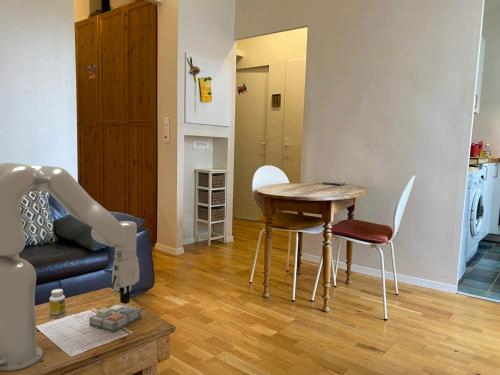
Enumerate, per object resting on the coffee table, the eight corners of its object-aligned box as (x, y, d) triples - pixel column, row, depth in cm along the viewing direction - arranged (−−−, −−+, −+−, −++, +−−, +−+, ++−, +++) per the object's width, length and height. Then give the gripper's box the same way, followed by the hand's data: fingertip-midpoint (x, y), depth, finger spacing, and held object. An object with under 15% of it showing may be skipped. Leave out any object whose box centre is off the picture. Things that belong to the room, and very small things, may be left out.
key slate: (127, 319, 145) (127, 312, 145) (120, 317, 146) (120, 310, 146) (134, 315, 148) (133, 309, 148) (127, 314, 149) (127, 307, 149)
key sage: (104, 319, 142) (104, 312, 141) (97, 317, 143) (97, 310, 143) (111, 315, 145) (111, 309, 144) (104, 314, 146) (104, 307, 146)
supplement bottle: (61, 318, 148) (60, 293, 147) (47, 318, 148) (46, 293, 147) (68, 312, 153) (67, 288, 152) (54, 312, 153) (53, 288, 152)
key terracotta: (115, 325, 140) (115, 318, 139) (108, 323, 141) (108, 317, 141) (122, 322, 143) (122, 315, 142) (115, 320, 144) (115, 313, 144)
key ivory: (116, 316, 147) (116, 309, 147) (109, 314, 149) (109, 308, 148) (123, 312, 150) (122, 306, 150) (116, 311, 152) (116, 304, 151)
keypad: (114, 333, 137) (114, 324, 137) (89, 325, 142) (89, 317, 142) (141, 317, 150) (141, 309, 149) (117, 311, 155) (117, 303, 154)
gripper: (118, 260, 136) (117, 311, 138) (147, 251, 150) (146, 298, 151) (102, 257, 139) (102, 307, 141) (132, 249, 153) (131, 294, 154)
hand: (124, 302), depth 146 cm, fingers closed
